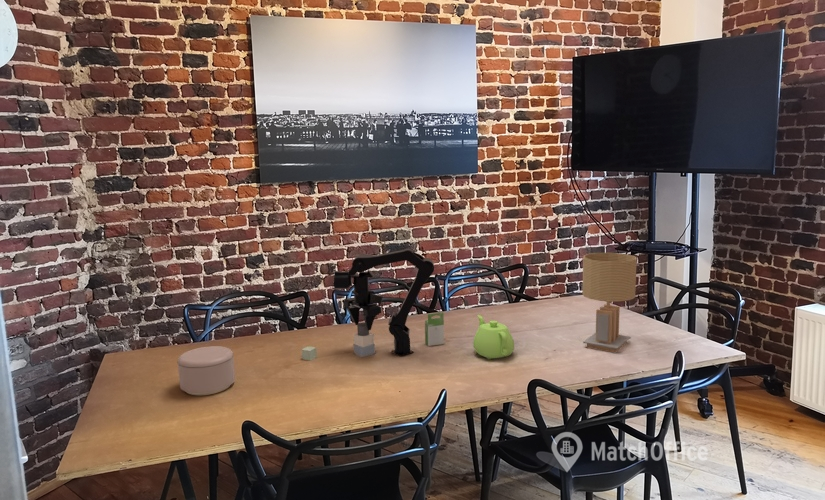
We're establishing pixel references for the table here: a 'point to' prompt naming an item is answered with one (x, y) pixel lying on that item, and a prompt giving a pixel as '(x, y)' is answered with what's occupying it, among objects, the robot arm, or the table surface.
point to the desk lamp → (608, 295)
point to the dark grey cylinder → (362, 329)
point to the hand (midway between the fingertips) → (363, 327)
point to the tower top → (364, 340)
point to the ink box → (434, 330)
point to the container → (206, 370)
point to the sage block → (309, 353)
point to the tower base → (364, 350)
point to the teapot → (493, 340)
